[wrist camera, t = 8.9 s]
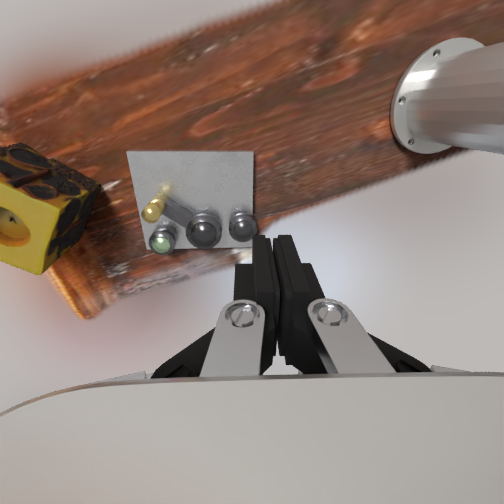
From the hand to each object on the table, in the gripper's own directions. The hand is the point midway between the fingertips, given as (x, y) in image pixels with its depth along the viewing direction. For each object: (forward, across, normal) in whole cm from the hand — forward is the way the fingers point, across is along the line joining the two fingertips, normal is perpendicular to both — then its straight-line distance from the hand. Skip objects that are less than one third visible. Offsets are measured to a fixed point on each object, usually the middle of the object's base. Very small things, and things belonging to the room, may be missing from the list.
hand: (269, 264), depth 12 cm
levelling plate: (+27, +8, +6) cm, 29 cm away
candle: (+26, +28, +5) cm, 38 cm away
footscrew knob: (+25, +9, +8) cm, 28 cm away
